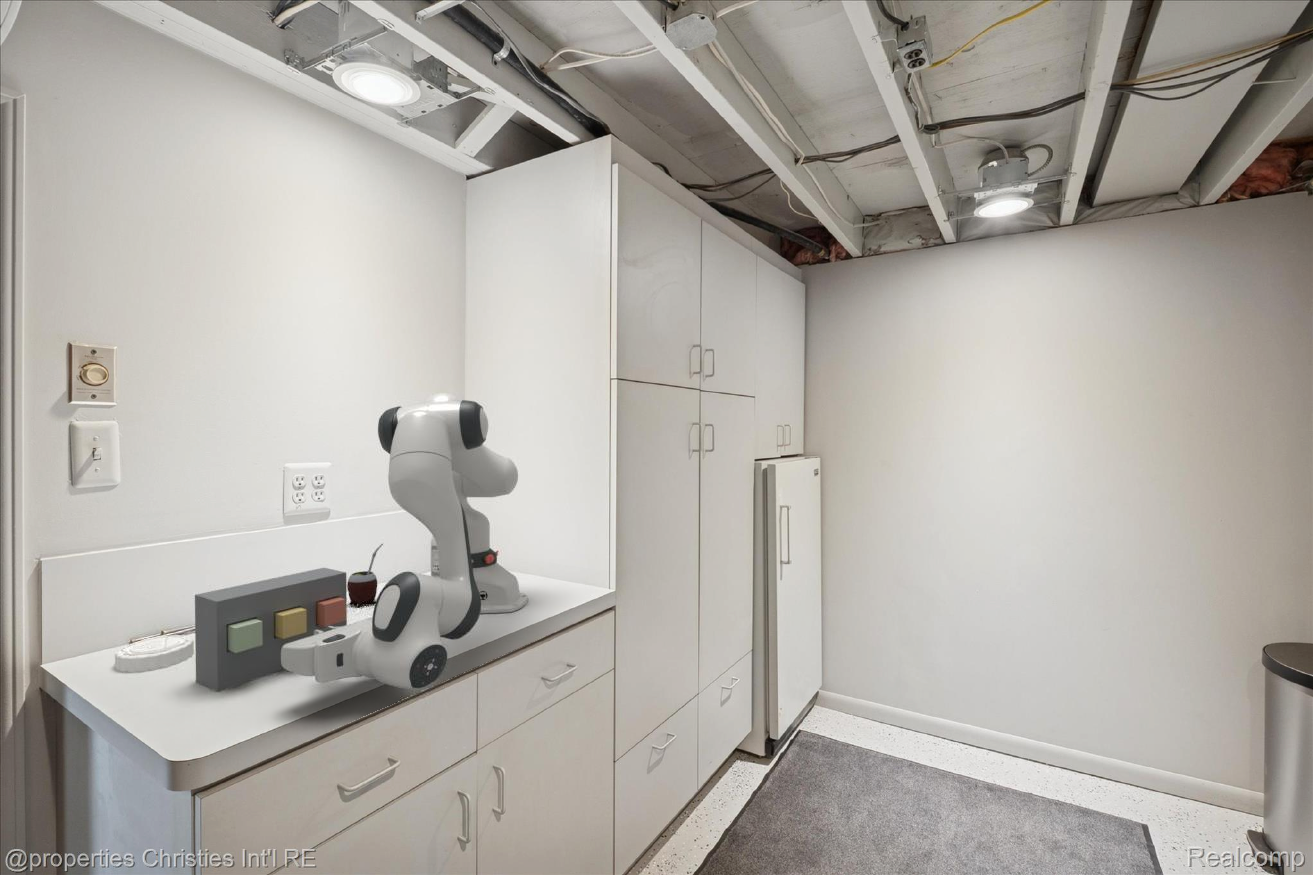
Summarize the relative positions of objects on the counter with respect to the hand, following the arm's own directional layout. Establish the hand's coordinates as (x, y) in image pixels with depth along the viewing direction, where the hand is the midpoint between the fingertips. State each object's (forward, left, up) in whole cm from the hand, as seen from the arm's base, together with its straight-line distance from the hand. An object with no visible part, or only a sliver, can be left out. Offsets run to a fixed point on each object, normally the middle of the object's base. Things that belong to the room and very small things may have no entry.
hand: (321, 632), depth 110 cm
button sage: (+13, +3, -2) cm, 13 cm away
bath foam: (+5, -68, -9) cm, 69 cm away
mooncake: (+38, -7, -9) cm, 40 cm away
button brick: (+5, -12, -2) cm, 13 cm away
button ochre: (+9, -4, -2) cm, 10 cm away
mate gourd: (+17, -46, -9) cm, 50 cm away
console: (+13, -7, -9) cm, 17 cm away
